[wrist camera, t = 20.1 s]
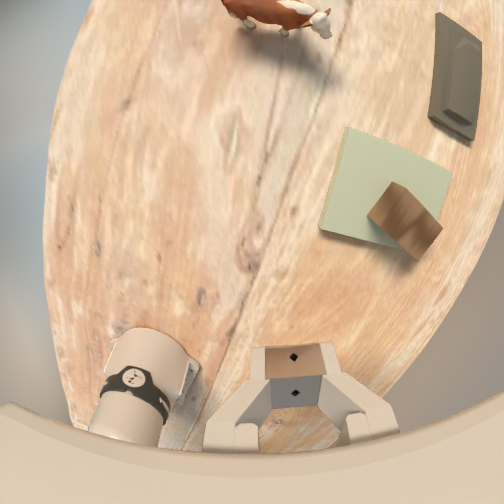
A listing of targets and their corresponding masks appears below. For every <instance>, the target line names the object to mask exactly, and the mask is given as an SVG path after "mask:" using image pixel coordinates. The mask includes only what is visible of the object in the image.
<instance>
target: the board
mask: <svg viewBox="0 0 504 504" xmlns="http://www.w3.org/2000/svg"><path fill="white" fill-rule="evenodd" d="M451 176H452V172H451V171H449V170H447V169H445V168H443V167H441V166H439V165H437V164H435V163H433V162H431V161H429V160H427V159H425V158H423V157H421V156H419V155H417V154H415V153H412V152H410V151H408V150H406V149H404V148H401V147H399V146H397V145H394V144H392V143H390V142H387V141H385V140H382V139H380V138H377V137H375V136H372V135H370V134H367V133H364V132H362V131H359V130H356V129H353V128H350V127H345V130H344V134H343V138H342V142H341V146H340V149H339V153H338V157H337V160H336V164H335V168H334V171H333V175H332V178H331V182H330V185H329V189H328V192H327V196H326V199H325V202H324V206H323V209H322V212H321V216H320V219H319V222H318V225H319V227H320V229H323V230H327V231H331V232H335V233H339V234H343V235H347V236H351V237H354V238H358V239H362V240H366V241H370V242H374V243H377V244H381V245H385V246H388V247H392V248H396V249H399V250H403V251H406V250H405V249H404V248H403V247H402V246H401V245H400V244H399V243H398V242H396V241H395V240H394V239H393V238H392V237H391V236H390V235H389V234H387V233H386V232H385V231H384V230H383V229H382V228H381V227H379V226H378V225H377V224H376V223H375V222H374V221H373V220H371V219H370V218H369V217H368V216H367V214H368V213H369V212H370V210H371V209H372V208H373V206H374V205H375V204H376V202H377V201H378V200H379V198H380V197H381V196H382V194H383V193H384V192H385V190H386V189H387V188H388V186H389V185H390V184H391V182H395V183H397V184H399V185H401V186H403V187H405V188H407V189H408V190H409V191H410V192H411V194H412V195H413V196H414V197H415V198H416V199H417V200H418V201H419V202H420V203H421V204H422V205H423V206H424V207H425V208H426V209H427V211H428V212H429V213H430V214H431V215H432V216H433V217H434V218H435V220H436V221H437V219H438V217H439V214H440V211H441V208H442V205H443V202H444V199H445V196H446V193H447V190H448V186H449V183H450V180H451ZM406 252H407V251H406ZM423 255H424V254H423Z"/></svg>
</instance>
